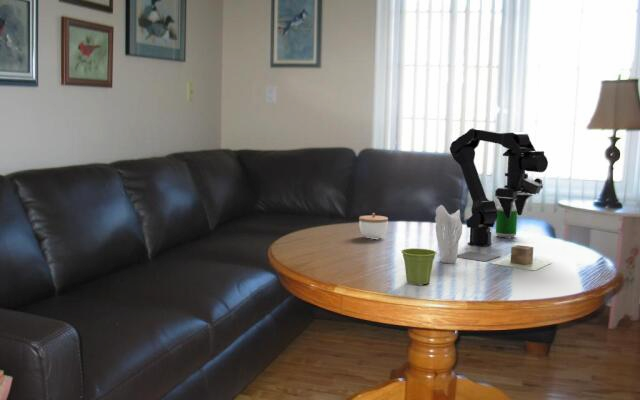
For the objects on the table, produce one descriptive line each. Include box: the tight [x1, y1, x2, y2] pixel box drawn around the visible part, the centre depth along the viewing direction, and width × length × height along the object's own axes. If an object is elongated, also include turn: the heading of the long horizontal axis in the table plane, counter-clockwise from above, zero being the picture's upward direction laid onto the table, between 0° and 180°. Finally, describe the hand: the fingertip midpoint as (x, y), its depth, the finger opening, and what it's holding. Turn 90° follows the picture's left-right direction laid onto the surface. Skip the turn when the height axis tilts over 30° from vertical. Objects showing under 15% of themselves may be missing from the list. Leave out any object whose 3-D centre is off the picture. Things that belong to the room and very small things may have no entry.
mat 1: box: [457, 250, 501, 263], centre depth 215 cm, size 11×11×1 cm
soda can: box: [495, 204, 518, 239], centre depth 252 cm, size 8×8×12 cm
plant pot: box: [400, 247, 437, 286], centre depth 179 cm, size 9×9×9 cm
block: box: [510, 244, 534, 265], centre depth 205 cm, size 5×5×5 cm
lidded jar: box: [358, 212, 389, 238], centre depth 246 cm, size 11×11×9 cm
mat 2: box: [490, 255, 553, 272], centre depth 206 cm, size 14×14×1 cm
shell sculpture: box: [434, 204, 463, 264], centre depth 205 cm, size 8×8×18 cm
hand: (514, 216), depth 223 cm, fingers open, 9 cm apart
